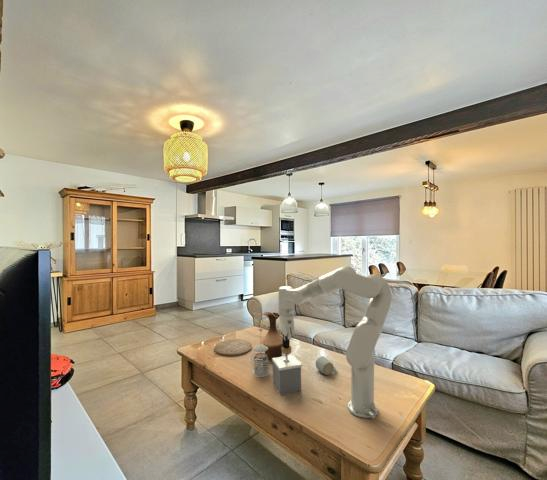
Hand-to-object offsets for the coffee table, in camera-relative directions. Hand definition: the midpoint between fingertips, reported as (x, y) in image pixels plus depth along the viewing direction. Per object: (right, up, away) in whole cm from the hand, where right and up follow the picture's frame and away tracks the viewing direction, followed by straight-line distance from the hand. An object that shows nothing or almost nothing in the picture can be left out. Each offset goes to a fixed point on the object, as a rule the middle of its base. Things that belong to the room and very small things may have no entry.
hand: (286, 347), depth 144 cm
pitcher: (-6, -20, +36) cm, 42 cm away
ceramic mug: (+23, -20, +16) cm, 35 cm away
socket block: (0, -20, +2) cm, 20 cm away
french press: (-14, -20, +15) cm, 29 cm away
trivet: (-34, -20, +49) cm, 63 cm away
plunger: (0, -18, 0) cm, 18 cm away
